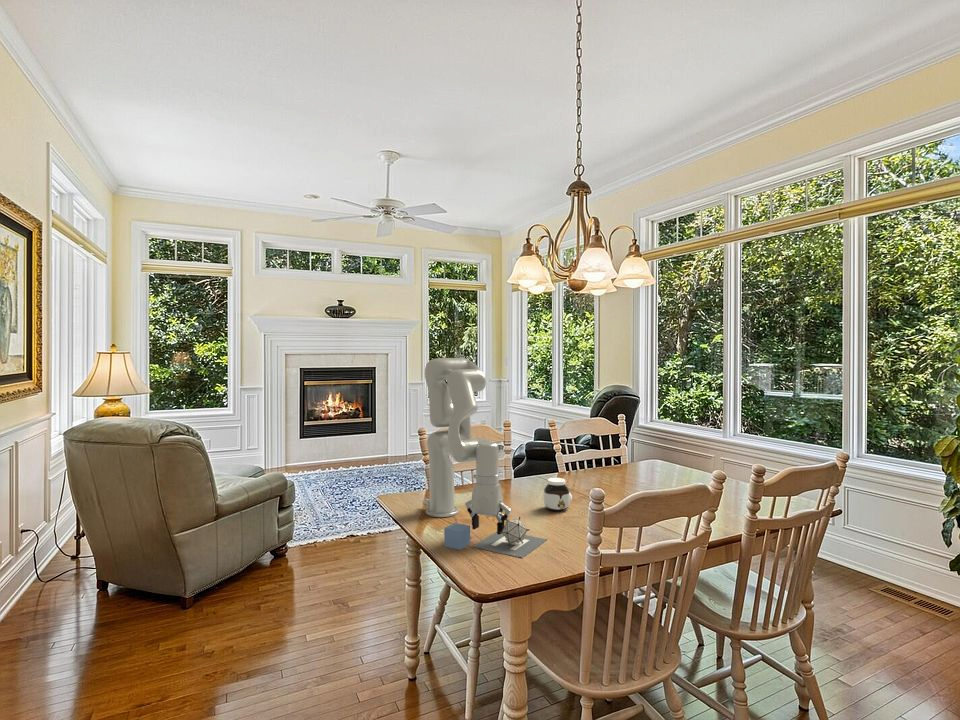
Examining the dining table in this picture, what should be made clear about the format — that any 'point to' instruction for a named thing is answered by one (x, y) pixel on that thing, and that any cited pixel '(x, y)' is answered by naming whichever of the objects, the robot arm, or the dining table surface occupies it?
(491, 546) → the letter mat
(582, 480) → the dining table surface
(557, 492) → the spread jar
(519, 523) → the game die
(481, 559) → the dining table surface
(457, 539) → the slate cube
